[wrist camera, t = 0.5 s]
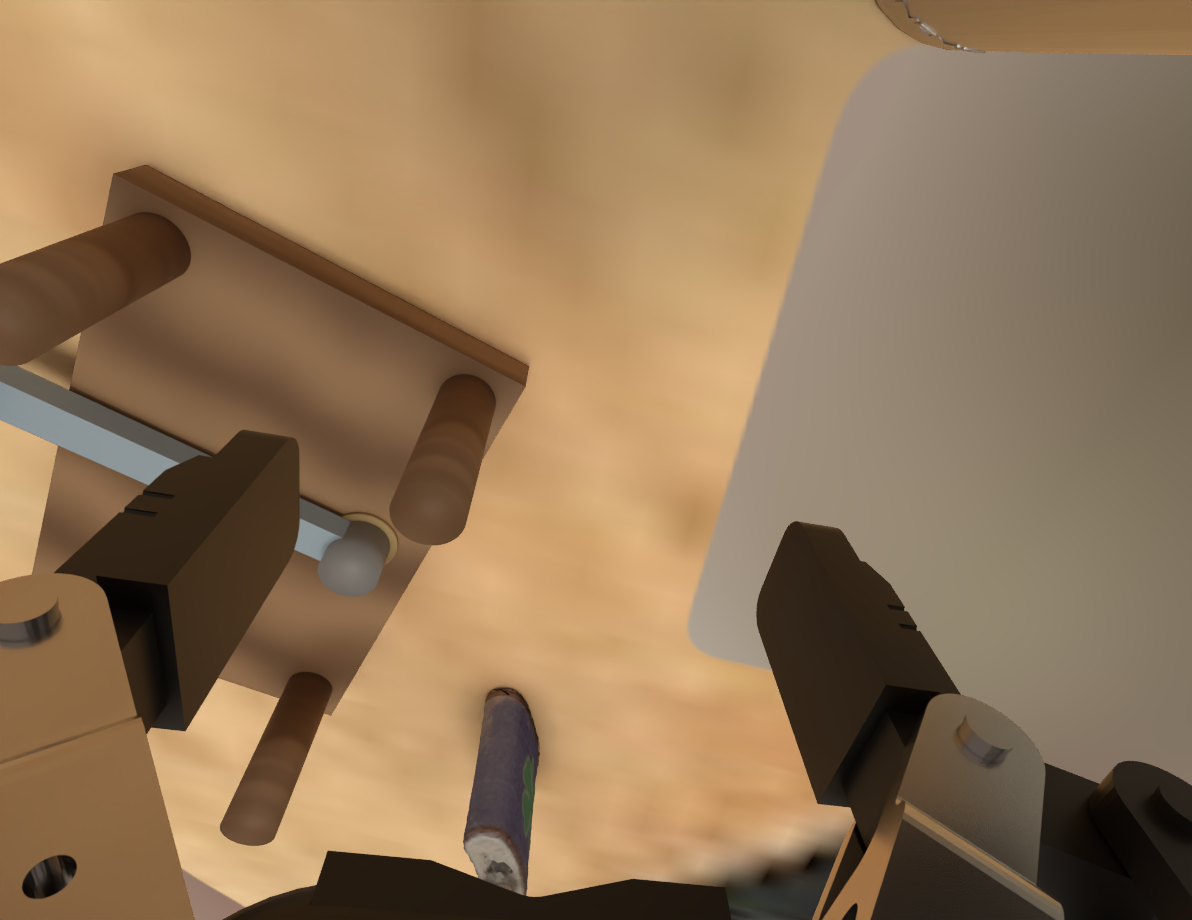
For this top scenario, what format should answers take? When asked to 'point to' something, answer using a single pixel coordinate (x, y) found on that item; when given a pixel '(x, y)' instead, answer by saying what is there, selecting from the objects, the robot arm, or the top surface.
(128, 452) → the cylinder
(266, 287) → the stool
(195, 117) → the top surface
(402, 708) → the top surface
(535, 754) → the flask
